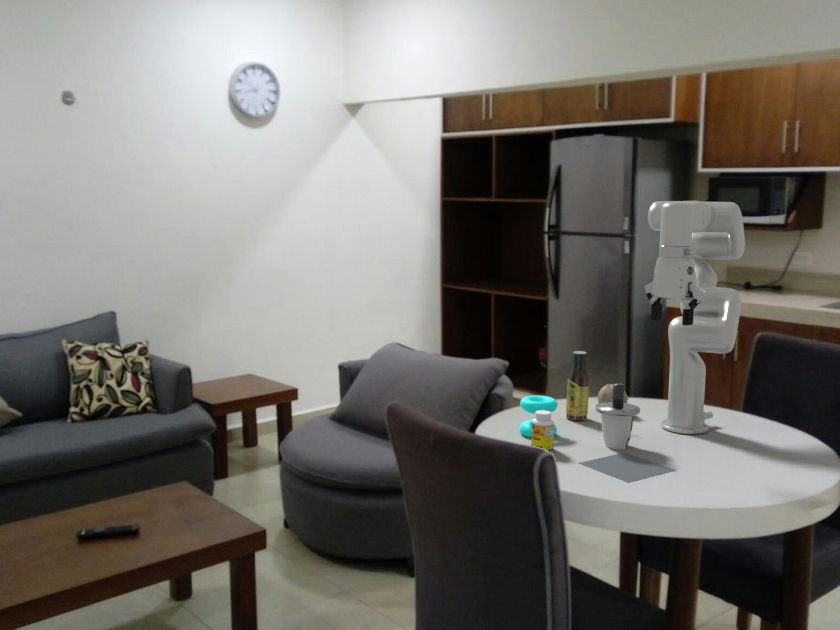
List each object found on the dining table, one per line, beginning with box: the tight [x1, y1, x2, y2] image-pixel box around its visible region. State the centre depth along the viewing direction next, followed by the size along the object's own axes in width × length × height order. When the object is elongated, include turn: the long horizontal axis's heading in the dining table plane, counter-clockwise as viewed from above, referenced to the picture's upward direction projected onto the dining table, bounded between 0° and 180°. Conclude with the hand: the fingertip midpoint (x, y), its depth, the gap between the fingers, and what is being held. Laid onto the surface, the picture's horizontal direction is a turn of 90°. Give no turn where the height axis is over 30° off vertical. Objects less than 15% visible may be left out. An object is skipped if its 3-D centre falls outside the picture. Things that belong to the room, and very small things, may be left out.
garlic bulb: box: [597, 383, 629, 404], centre depth 245 cm, size 9×8×10 cm
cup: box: [601, 413, 635, 450], centre depth 211 cm, size 8×8×10 cm
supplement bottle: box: [530, 410, 555, 453], centre depth 208 cm, size 6×6×10 cm
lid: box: [595, 382, 641, 416], centre depth 209 cm, size 11×11×7 cm
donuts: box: [519, 394, 558, 438], centre depth 222 cm, size 10×10×10 cm
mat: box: [578, 452, 677, 484], centre depth 195 cm, size 16×16×1 cm
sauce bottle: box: [565, 350, 590, 422], centre depth 237 cm, size 6×6×20 cm
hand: (671, 322), depth 203 cm, fingers open, 9 cm apart
